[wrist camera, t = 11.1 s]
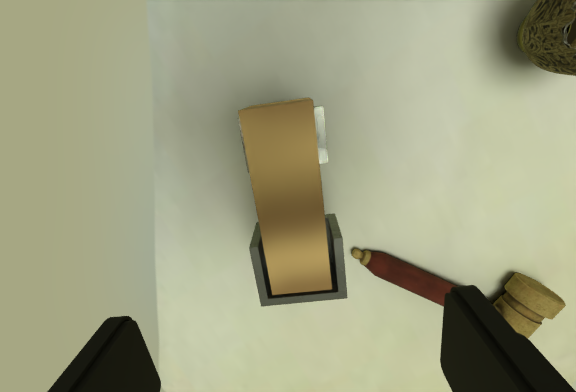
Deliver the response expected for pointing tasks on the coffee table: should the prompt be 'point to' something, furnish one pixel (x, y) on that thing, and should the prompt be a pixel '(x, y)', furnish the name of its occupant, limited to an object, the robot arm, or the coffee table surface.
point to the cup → (550, 35)
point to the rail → (288, 193)
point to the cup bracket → (335, 293)
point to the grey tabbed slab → (319, 132)
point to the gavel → (512, 305)
